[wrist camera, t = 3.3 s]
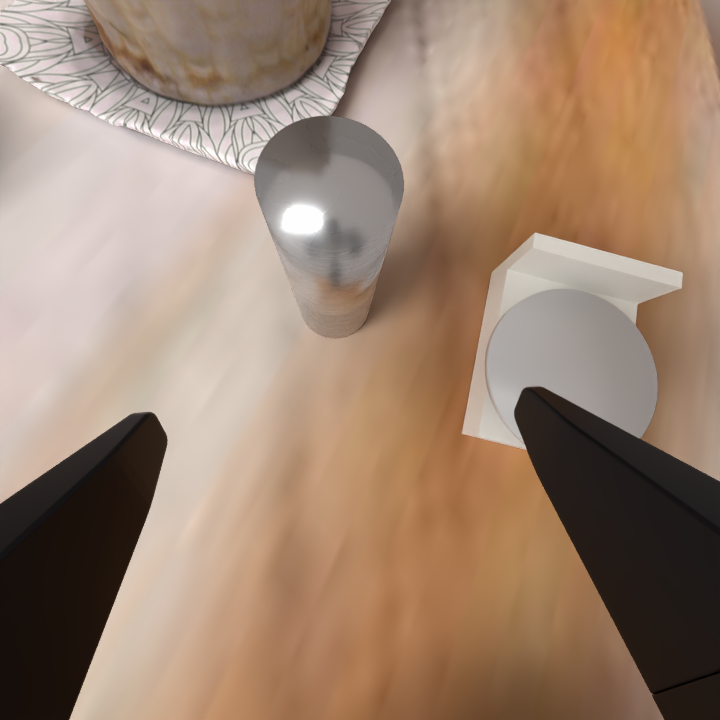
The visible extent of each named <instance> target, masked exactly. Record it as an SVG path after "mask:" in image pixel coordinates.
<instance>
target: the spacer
mask: <svg viewBox="0 0 720 720" xmlns="http://www.w3.org/2000/svg"><path fill="white" fill-rule="evenodd" d="M254 182H255V191H256V196H257V199H258V201H259V204H260V207H261V210H262V212H263V215H264V217H265V220H266V223H267V225H268V228H269V230H270V233H271V236H272V238H273V241H274V243H275V246H276V249H277V251H278V254H279V256H280V259H281V262H282V264H283V267H284V269H285V272H286V275H287V277H288V280H289V282H290V285H291V288H292V290H293V293H294V296H295V298H296V301H297V303H298V306H299V309H300V311H301V314H302V316H303V319H304V321H305V322H306V324H307V325H308V326H309V327H310V329H312V330H313V331H314V332H316V333H317V334H319V335H321V336H324V337H327V338H343V337H346V336H349V335H351V334H353V333H355V332H356V331H357V330H358V329H360V327H361V326H362V325H363V324H364V322H365V320H366V318H367V316H368V312H369V309H370V306H371V302H372V299H373V296H374V292H375V289H376V285H377V282H378V279H379V275H380V272H381V269H382V265H383V262H384V259H385V255H386V252H387V248H388V245H389V242H390V238H391V235H392V232H393V228H394V225H395V222H396V218H397V215H398V211H399V208H400V205H401V201H402V197H403V191H404V179H403V172H402V168H401V165H400V162H399V160H398V158H397V156H396V154H395V152H394V151H393V149H392V148H391V147H390V145H389V144H388V143H387V142H386V141H385V140H384V139H383V138H382V137H381V136H380V135H379V134H378V133H376V132H375V131H374V130H372V129H371V128H369V127H367V126H366V125H364V124H362V123H359V122H357V121H354V120H351V119H348V118H343V117H338V116H315V117H309V118H305V119H301V120H299V121H296V122H294V123H292V124H290V125H288V126H286V127H284V128H283V129H281V130H280V131H279V132H277V133H276V134H275V135H274V136H273V137H272V138H271V139H270V140H269V141H268V143H267V144H266V145H265V147H264V148H263V150H262V151H261V154H260V156H259V158H258V161H257V164H256V168H255V176H254Z"/></svg>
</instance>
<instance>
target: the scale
mask: <svg viewBox="0 0 720 720" xmlns="http://www.w3.org/2000/svg"><path fill="white" fill-rule="evenodd" d="M682 276H683V272H679V271H676V270H672V269H668V268H664V267H661V266H657V265H653V264H650V263H646V262H642V261H639V260H635V259H631V258H628V257H624V256H620V255H617V254H613V253H609V252H605V251H602V250H598V249H594V248H591V247H587V246H583V245H580V244H576V243H572V242H569V241H565V240H561V239H557V238H554V237H550V236H546V235H543V234H539V233H534V234H533V235H532V236H531V237H530V238H529V239H527V240H526V241H525V242H524V243H523V244H522V245H521V246H520V247H519V248H518V249H517V250H515V251H514V252H513V253H512V254H511V255H510V256H509V257H508V258H507V259H506V260H505V261H503V262H502V263H501V264H500V265H499V266H498V267H497V268H496V269H495V270H494V271H493V272H492V273H491V278H490V284H489V289H488V295H487V300H486V305H485V311H484V316H483V322H482V327H481V333H480V338H479V343H478V349H477V354H476V360H475V365H474V370H473V376H472V381H471V387H470V392H469V397H468V403H467V408H466V414H465V419H464V424H463V430H462V434H464V435H468V436H472V437H476V438H480V439H484V440H488V441H492V442H496V443H500V444H504V445H508V446H512V447H516V448H519V449H523V450H527V449H526V446H525V444H524V441H523V439H522V436H521V434H520V431H519V429H518V426H517V424H516V421H515V418H514V409H515V406H516V404H517V401H518V399H519V396H520V394H521V391H522V390H523V389H524V388H525V387H533V386H541V387H544V388H546V389H548V390H550V391H552V392H553V393H555V394H557V395H559V396H561V397H563V398H565V399H566V400H568V401H570V402H572V403H574V404H576V405H578V406H580V407H581V408H583V409H585V410H587V411H589V412H591V413H593V414H594V415H596V416H598V417H600V418H602V419H604V420H606V421H608V422H609V423H611V424H613V425H615V426H617V427H619V428H621V429H623V430H624V431H626V432H628V433H630V434H632V435H634V436H636V437H637V438H639V439H640V438H641V436H642V435H643V434H644V432H645V431H646V429H647V428H648V426H649V424H650V422H651V419H652V417H653V414H654V411H655V407H656V402H657V395H658V380H657V371H656V367H655V363H654V359H653V357H652V354H651V351H650V349H649V347H648V345H647V343H646V341H645V339H644V337H643V336H642V334H641V333H640V331H639V329H638V328H637V327H636V316H637V305H638V304H639V303H642V302H645V301H648V300H650V299H653V298H656V297H659V296H661V295H664V294H667V293H670V292H672V291H675V290H678V289H681V288H682Z"/></svg>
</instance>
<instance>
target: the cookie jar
mask: <svg viewBox="0 0 720 720" xmlns="http://www.w3.org/2000/svg"><path fill="white" fill-rule="evenodd" d="M390 2H391V0H15V1H14V2H13V3H12V4H10V5H9V6H8V7H7V8H6V9H3V10H1V13H0V64H1V65H3V66H5V67H7V68H8V69H10V70H11V71H12V72H14V73H15V74H16V75H17V76H19V77H20V78H22V79H24V80H26V81H27V82H29V83H31V84H32V85H34V86H35V87H37V88H38V89H40V90H41V91H43V92H44V93H46V94H48V95H49V96H52V97H54V98H56V99H58V100H61V101H63V102H66V103H69V104H70V105H72V106H73V107H75V108H77V109H82V110H86V111H90V112H91V113H92V114H93V115H95V116H96V117H98V118H100V119H103V120H104V121H106V122H108V123H110V124H112V125H114V126H124V127H127V128H130V129H133V130H136V131H138V132H141V133H143V134H146V135H148V136H151V137H153V138H156V139H158V140H161V141H163V142H166V143H168V144H171V145H173V146H176V147H178V148H181V149H183V150H186V151H189V152H192V153H194V154H197V155H200V156H203V157H206V158H208V159H211V160H214V161H217V162H220V163H223V164H225V165H228V166H230V167H233V168H236V169H238V170H241V171H244V172H246V173H249V174H252V175H255V168H256V164H257V161H258V158H259V156H260V154H261V151H262V150H263V148H264V147H265V145H266V144H267V143H268V141H269V140H270V139H271V138H272V137H273V136H274V135H275V134H276V133H277V132H279V131H280V130H281V129H283V128H284V127H286V126H288V125H290V124H292V123H294V122H296V121H299V120H301V119H305V118H309V117H315V116H331V114H332V113H333V112H334V111H335V109H336V107H337V105H338V103H339V101H340V99H341V97H342V96H343V94H344V92H345V89H346V84H347V81H348V78H349V75H350V72H351V69H352V67H353V65H354V63H355V62H356V60H357V58H358V56H359V54H360V53H361V51H362V50H363V48H364V46H365V44H366V42H367V40H368V38H369V37H370V35H371V33H372V31H373V30H374V28H375V27H376V25H377V24H378V22H379V21H380V19H381V18H382V15H383V13H384V11H385V9H386V8H387V7H388V5H389V4H390Z"/></svg>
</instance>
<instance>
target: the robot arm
mask: <svg viewBox="0 0 720 720" xmlns="http://www.w3.org/2000/svg"><path fill="white" fill-rule="evenodd" d="M514 418H515V421H516V424H517V426H518V429H519V431H520V434H521V436H522V439H523V441H524V444H525V446H526V449H527V452H528V454H529V457H530V459H531V462H532V464H533V466H534V469H535V471H536V473H537V475H538V477H539V479H540V481H541V483H542V485H543V487H544V489H545V491H546V493H547V495H548V497H549V499H550V501H551V502H552V504H553V506H554V508H555V510H556V512H557V514H558V516H559V518H560V520H561V522H562V524H563V525H564V527H565V529H566V531H567V533H568V535H569V537H570V539H571V541H572V543H573V545H574V547H575V548H576V550H577V552H578V554H579V556H580V558H581V560H582V562H583V564H584V566H585V568H586V570H587V571H588V573H589V575H590V577H591V579H592V581H593V583H594V585H595V587H596V589H597V591H598V593H599V594H600V596H601V598H602V600H603V602H604V604H605V606H606V608H607V610H608V612H609V614H610V616H611V617H612V619H613V621H614V623H615V625H616V627H617V629H618V631H619V633H620V635H621V637H622V639H623V640H624V642H625V644H626V646H627V648H628V650H629V652H630V654H631V656H632V658H633V660H634V662H635V663H636V665H637V667H638V669H639V671H640V673H641V675H642V677H643V679H644V681H645V683H646V685H647V686H648V688H649V690H650V692H651V693H652V696H653V699H654V700H655V702H656V704H657V706H658V708H659V710H660V712H661V714H662V716H663V718H664V720H720V481H718V480H716V479H714V478H712V477H710V476H708V475H707V474H705V473H703V472H701V471H699V470H697V469H695V468H694V467H692V466H690V465H688V464H686V463H684V462H682V461H680V460H679V459H677V458H675V457H673V456H671V455H669V454H667V453H666V452H664V451H662V450H660V449H658V448H656V447H654V446H652V445H651V444H649V443H647V442H645V441H643V440H641V439H639V438H637V437H636V436H634V435H632V434H630V433H628V432H626V431H624V430H623V429H621V428H619V427H617V426H615V425H613V424H611V423H609V422H608V421H606V420H604V419H602V418H600V417H598V416H596V415H594V414H593V413H591V412H589V411H587V410H585V409H583V408H581V407H580V406H578V405H576V404H574V403H572V402H570V401H568V400H566V399H565V398H563V397H561V396H559V395H557V394H555V393H553V392H552V391H550V390H548V389H546V388H544V387H541V386H533V387H525V388H524V389H523V390H522V391H521V394H520V396H519V399H518V401H517V404H516V406H515V409H514ZM166 448H167V435H166V433H165V431H164V429H163V427H162V426H161V424H160V422H159V420H158V418H157V416H156V415H155V414H154V413H152V412H142V413H133V414H131V415H129V416H128V417H126V418H125V419H123V420H122V421H120V422H119V423H117V424H116V425H115V426H113V427H112V428H110V429H109V430H107V431H106V432H104V433H103V434H101V435H100V436H98V437H97V438H96V439H94V440H93V441H91V442H90V443H88V444H87V445H85V446H84V447H82V448H81V449H79V450H78V451H77V452H75V453H74V454H72V455H71V456H69V457H68V458H66V459H65V460H63V461H62V462H60V463H59V464H58V465H56V466H55V467H53V468H52V469H50V470H49V471H47V472H46V473H44V474H43V475H41V476H40V477H39V478H37V479H36V480H34V481H33V482H31V483H30V484H28V485H27V486H25V487H24V488H23V489H21V490H20V491H18V492H17V493H15V494H14V495H12V496H11V497H9V498H8V499H6V500H5V501H4V502H2V503H1V504H0V720H69V719H70V716H71V714H72V711H73V708H74V706H75V703H76V701H77V698H78V695H79V693H80V690H81V688H82V685H83V682H84V680H85V677H86V675H87V672H88V669H89V667H90V664H91V662H92V659H93V656H94V654H95V651H96V648H97V646H98V643H99V641H100V638H101V635H102V633H103V630H104V628H105V625H106V622H107V620H108V617H109V615H110V612H111V609H112V607H113V604H114V602H115V599H116V596H117V594H118V591H119V588H120V586H121V583H122V581H123V578H124V575H125V573H126V570H127V568H128V565H129V562H130V560H131V557H132V555H133V552H134V549H135V547H136V544H137V542H138V539H139V536H140V534H141V531H142V528H143V526H144V523H145V521H146V518H147V515H148V512H149V510H150V507H151V503H152V500H153V497H154V493H155V489H156V485H157V482H158V478H159V474H160V470H161V466H162V463H163V459H164V455H165V451H166Z"/></svg>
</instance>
